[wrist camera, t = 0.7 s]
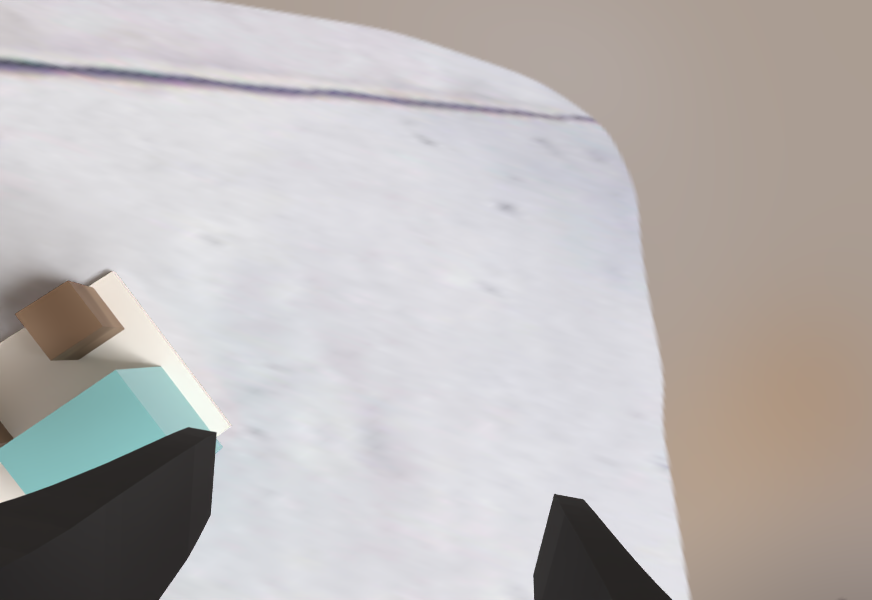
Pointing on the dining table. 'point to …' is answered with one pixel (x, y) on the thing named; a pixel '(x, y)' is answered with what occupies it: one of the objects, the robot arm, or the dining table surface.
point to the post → (4, 435)
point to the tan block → (69, 321)
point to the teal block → (99, 427)
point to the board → (89, 371)
